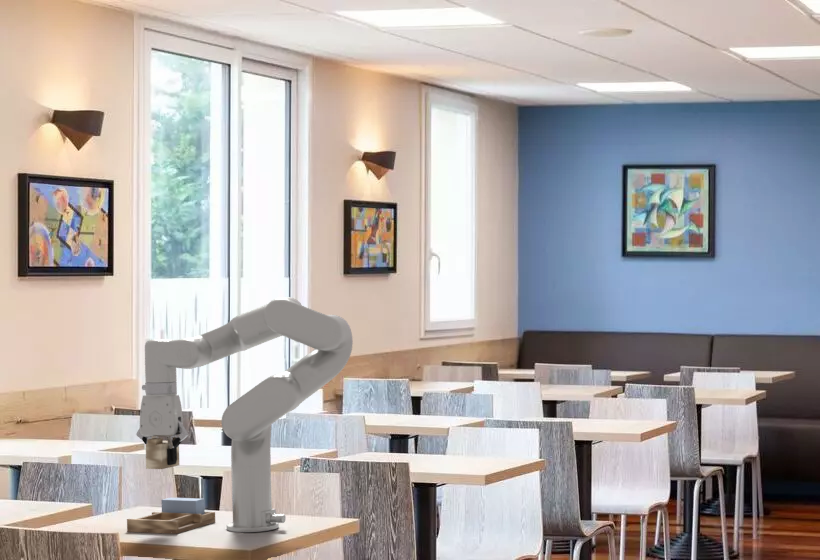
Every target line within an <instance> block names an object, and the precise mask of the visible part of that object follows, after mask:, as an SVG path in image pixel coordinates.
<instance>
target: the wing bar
mask: <svg viewBox="0 0 820 560" xmlns="http://www.w3.org/2000/svg"><path fill="white" fill-rule="evenodd" d="M161 512H166V513H192V514H202V515H203V514H205V512H206V511H205V498H192V497H191V498H190V497H167V498H163V499H161Z"/></svg>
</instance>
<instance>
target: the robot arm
mask: <svg viewBox="0 0 820 560" xmlns="http://www.w3.org/2000/svg"><path fill="white" fill-rule="evenodd" d="M279 337H284V338H288V339H290V340H292V341H295V342H297V343H300V344H302V345H304V346H308V347H310V348H312V349H313V350H311V351H310V352H309V353H308V354H307V355H305V356H303V357H301V359H299V360H298V361H297V362H295V363H294V364H293V365H291V366H290V367H288V368H287V369H286V370H284V371H282V372H280V373H277V374H274V375H271V376H269V377H267V378H265V379H263V380H261V382H260V383H258V384H257V385H255V386H254V387H252V388H251V389H249V390H248V391H247V392H245V393H244V394H243V395H242V396H239V398H237V399H236V400H234V401H233V402H232V403H231V404H229V405H228V406H227V407H226V408H225V410H224V411H223V413H222V416H221V428H222V431H223V433H224V434H225V435H226V436H227V437H228V438H230V439H231V449H230V452H231V453H230V454H231V456H230V461H231V462H230V464H231V465H230V466H231V468H230V469H231V499H232V503H231V505H232V522H230V523H227V524H226V530H227V531H229V532H232V533H233V532H234V533H260V532H268V531H272V530H276V529H278V528H279V526H280V525H279V524H284V523H285V522H286V514H284V513H283V514H282V513H280V514H278V513H277V511H276V510H277V509H276V508H273V506H272V503H273V502H272V499H273V498H272V472H271V471H272V470H271V469H272V467H271V464H272V463H271V443H272V442H271V439H272V424H274V423H275V422H276V421H278V420H280V419H281V418H282V417H283V416H285V415H287V414H288V413H291V412H292V411H293V410H296V409H297V408H298V407H299V406H300V405H301V404H302V403H304V401H306V400H307V399H309V398H310V397H311V396H313V394H315V393H317V392H318V391H319V390H320V389H322V388H323V387H324V386H325V385H327V384H328V383H330V381H332V380H333V379H334V378H336V377H337V376H338V375H339V374H340V373H341V372H342V371H343V369H344V368H345V367H346V365H347V363H348V361H350V357H351V355H352V354H351V353H352V350H353V344H354V343H353V333H352V329H351V326H350V325H349V323H348V321H347V320H346V319H344V318H343V317H341V316H340V315H336V314H325V313H322V312H320V311H317V310H314V309H311V308H309V307H306V306H304V305H302V303H301V302H300V301H299V300H297V299H295V298H294V297H290V296H287V297H286V296H285V297H284V296H281V297H277V298H274V299H273V300H270V302H268V303H266V304H264V305H262V306H260V307H256V308H255V309H251V310H249V311H246V312H244V313H241V314H239V315H236V316H235V317H233V318H232V319H231V320H230V321H228V322H227V323H225V324H223V325H221V326H220V327H217V328H215V329H212V330H210V331H207V332H204V333H202V334H200V335H197V336H196V335H195V336H192V337H185V338H180V339H171V338H155V339H154V338H153V339H149V340H147V341H146V342H145V343H144V365H145V367H144V368H145V369H144V373H145V375H144V376H145V384H142V385H141V390H142V391H145V394H144V395H142V397H141V398H142V399H141V403H140V412H139V429H138V430H137V432H136V434H135V435H136V436H137V437H138V438H139V439H140V440H141V441H142V442H143V443H144V444H145V445H146V444H147V439H153V438H158V437H160V438H163V437H165V438H166V439H167V440H166V441H168V445H169V449H167V464H168V465H173V464H176V461H177V447H179V448H180V444H182V442H183V441H184V440H185V439H186V438H187V437H189V433H188V430H187V429H186V427H185V426H184V417H183V409H182V408H183V407H182V402H181V398H180V395H179V394H178V389H177V388H178V385H177V383H178V382H177V379H178V378H177V369H183V370H188V369H189V370H190V369H191V370H192V369H195V368H201V367H204V366H206V365H209V364H212V363H214V362H217V361H219V360H222V359H224V358H226V357H229V356H231V355H234V354H237V353H240V352H243V351H244V352H245V351H246V350H249V349H251V348H254V347H257V346H259V345H262V344H264V343H267V342H269V341H271V340H272V341H273V340H274V339H278V338H279Z"/></svg>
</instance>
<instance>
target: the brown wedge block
mask: <svg viewBox="0 0 820 560" xmlns="http://www.w3.org/2000/svg"><path fill="white" fill-rule="evenodd" d="M167 449H169V445H168V441H167V440H163V437H159V438H153V439H147V444H145V469H146V470H164V469H168V468H169V469H170V468H174V467H178V466H180V446H179V447H177V461H176V464H173V465H168V464H167Z"/></svg>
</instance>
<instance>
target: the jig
mask: <svg viewBox="0 0 820 560" xmlns="http://www.w3.org/2000/svg"><path fill="white" fill-rule="evenodd" d="M213 523H216V511H205V514H203V515H202V514H192V513H166V512H162V511H161V512H159V511H152V512H151V514H149V515H145V516H142V517H138V518H128V519H126V532H128V533H129V532H130V533H149V534H150V533H151V534H170V535H171V534H172V535H174V534H175V535H178V534H181V533H184V532H188V531H190V530H193V529H197V528H201V527H204V526H207V525H211V524H213Z"/></svg>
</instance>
